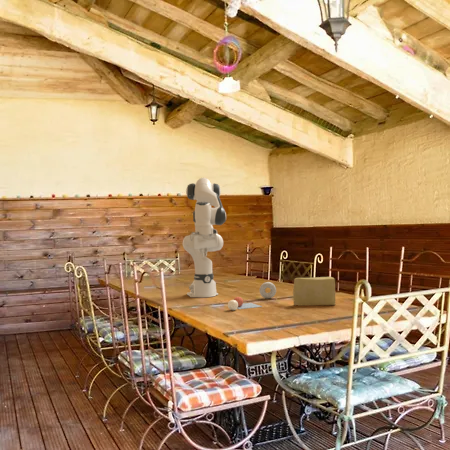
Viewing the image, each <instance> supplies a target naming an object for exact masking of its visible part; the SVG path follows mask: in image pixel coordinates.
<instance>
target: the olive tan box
mask: <svg viewBox="0 0 450 450" xmlns="http://www.w3.org/2000/svg"><path fill="white" fill-rule="evenodd" d="M293 281H294V282H293V288H292V289H293V292H292V294H293V295H292V296H293V300H292V301H293V306H296V305H298V306H335V305H336V278H334V277H332V276H320V277H319V276H317V277H296V278H294V280H293Z"/></svg>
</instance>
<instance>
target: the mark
mask: <svg viewBox="0 0 450 450" xmlns="http://www.w3.org/2000/svg"><path fill="white" fill-rule="evenodd" d="M262 307H263V305H259V304H255V303H252V302H248V303H245V302H243V305H242V306H240V307H238V308H237V309H236V310H246V309H252V308H253V309H254V308H262Z"/></svg>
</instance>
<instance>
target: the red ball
mask: <svg viewBox="0 0 450 450" xmlns="http://www.w3.org/2000/svg"><path fill="white" fill-rule="evenodd" d="M233 300H235V301H237V302H238V307H240V306H242V305H243V304H244V300H243V298H242V297H241V296H236V297H234V299H233Z"/></svg>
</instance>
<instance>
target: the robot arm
mask: <svg viewBox="0 0 450 450" xmlns="http://www.w3.org/2000/svg"><path fill="white" fill-rule="evenodd" d="M221 193H222V190H221V186H220V185H219V183H211V181H210V179H208V178H207V177H201V178H199V179H198V180H196V182H195V183H189V184H187V186H186V190H185V194H186V197H187V198H188V200H191V201H196V202H195V208H194V211H193V212H192V218H193V219H192V222H193V223H194V230H195V231H193V232H191V233H190V234H189V235H185V236H184V238H183V240H182V247H183V250H185V251H186V252H187V253H188V254H189V255H190V256H191V258H192V260H193V264H194V276H193V277H194V278H193V281H192V283H191V284H190V285H189V286H188V289H189V290H190V291H188V292H186V294H187V296H188V297H190V298H211V297H215V296H218V295H219V293H218V292H217V285H216V284H217V283H216V280H214V273H213V261H212V259H210V258H209V257H207V256H208V252H217V251H221V250H222V248H223V246H224V239H223V237H222V236H221V235H220V234H219V233H218V230H217V229H215V228H214V226H215V225H216V226H223V224H225V222H226V221H227V213H226V210H225V208H224V207H223V203H222V201H221V198H220V196H221ZM212 206H213V207H212Z"/></svg>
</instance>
